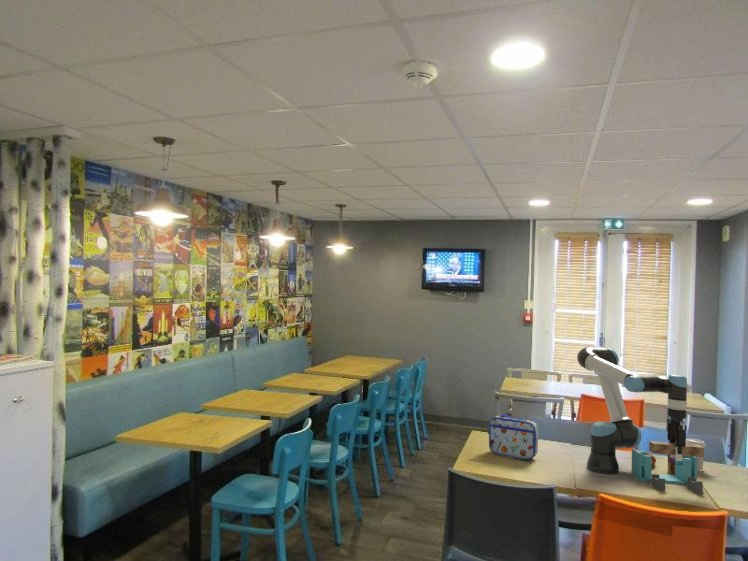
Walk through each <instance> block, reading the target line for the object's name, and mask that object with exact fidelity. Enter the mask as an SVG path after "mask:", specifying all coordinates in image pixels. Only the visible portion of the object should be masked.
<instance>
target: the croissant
mask: <svg viewBox="0 0 748 561" xmlns="http://www.w3.org/2000/svg"><path fill="white" fill-rule="evenodd" d="M644 452H645V451H644ZM645 455H650V456H652V467H651V469H652V468H654V467H655V465H656V462H657V459H656V458H655V456H654V454H651V453H648V452H645Z"/></svg>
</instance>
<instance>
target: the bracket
mask: <svg viewBox="0 0 748 561" xmlns="http://www.w3.org/2000/svg"><path fill="white" fill-rule="evenodd" d="M651 467H652V456H650V455H645V451H644V450H637V449H635V447H631V476H633V477H634V478H635V479H636V480H638V482H649V483H652V474H653V473H652V468H653V467H652V468H651ZM658 474H659V478H664V479H665V484H673V485H674V484H675V485H686V486H688V477H695V478H696V481H698V476H697V475H698V471H697V457H693V456H685V458H683V456H682V461H675V474H672V475H670V474H660V473H658Z"/></svg>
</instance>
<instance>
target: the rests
mask: <svg viewBox="0 0 748 561" xmlns="http://www.w3.org/2000/svg"><path fill="white" fill-rule="evenodd" d="M651 474H652V482H651V486H652V487H653V488H655V489H656V490H657V491H661V492H666V483H665V479H664V478H659V474H660V473H657V474H656V473H651ZM703 485H704V483H703V481H700V480H697V481H696V478H695V477H688V485H687V489H688V490H690V491H691V492H693V493H695V494H700V495H702V494H703V493H704V492H703V490H704V489H703V487H704V486H703Z"/></svg>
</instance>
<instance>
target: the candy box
mask: <svg viewBox="0 0 748 561" xmlns="http://www.w3.org/2000/svg"><path fill="white" fill-rule="evenodd" d="M668 443H670V442H668ZM683 458H685V456H683ZM667 473H668V474H672V475H675V458H672V457H670V455H669V454H667Z"/></svg>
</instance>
